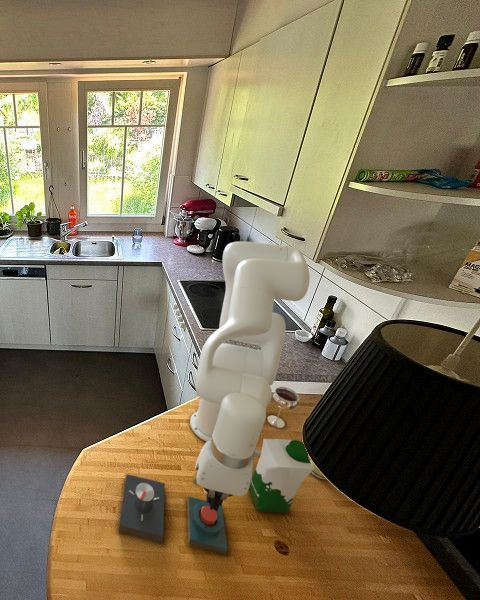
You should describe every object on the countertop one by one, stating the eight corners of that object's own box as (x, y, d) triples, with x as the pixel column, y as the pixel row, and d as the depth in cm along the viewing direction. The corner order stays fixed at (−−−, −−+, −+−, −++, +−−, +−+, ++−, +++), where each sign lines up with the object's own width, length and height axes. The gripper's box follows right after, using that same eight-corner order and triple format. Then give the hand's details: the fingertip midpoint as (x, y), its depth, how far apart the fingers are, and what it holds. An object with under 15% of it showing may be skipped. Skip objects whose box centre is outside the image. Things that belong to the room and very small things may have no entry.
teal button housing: (187, 501, 83) (189, 492, 81) (220, 509, 81) (223, 500, 79) (188, 544, 74) (191, 534, 72) (225, 554, 73) (229, 545, 71)
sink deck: (125, 480, 88) (126, 473, 86) (163, 490, 85) (164, 482, 84) (118, 531, 77) (119, 524, 75) (161, 544, 74) (163, 536, 73)
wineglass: (271, 430, 102) (282, 402, 97) (260, 413, 108) (270, 386, 103) (292, 429, 102) (304, 402, 97) (280, 413, 108) (291, 386, 103)
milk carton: (293, 517, 79) (321, 465, 70) (255, 515, 80) (279, 463, 70) (276, 482, 87) (299, 431, 78) (242, 481, 88) (261, 430, 78)
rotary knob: (138, 490, 82) (140, 478, 80) (155, 500, 80) (157, 488, 78) (131, 505, 79) (132, 493, 77) (148, 515, 77) (150, 504, 75)
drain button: (199, 508, 78) (200, 503, 77) (215, 512, 77) (216, 507, 76) (200, 523, 75) (201, 519, 74) (216, 527, 74) (218, 523, 73)
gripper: (266, 441, 66) (245, 496, 74) (190, 426, 69) (178, 480, 78) (276, 474, 59) (252, 530, 68) (192, 456, 63) (178, 511, 71)
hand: (212, 503), depth 73 cm, fingers closed
